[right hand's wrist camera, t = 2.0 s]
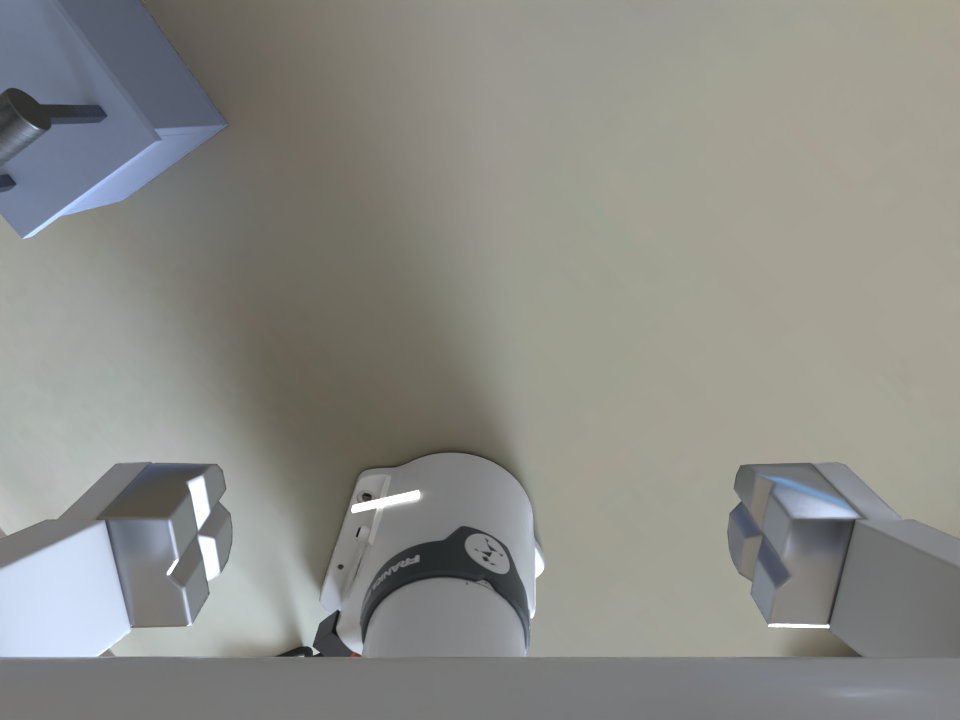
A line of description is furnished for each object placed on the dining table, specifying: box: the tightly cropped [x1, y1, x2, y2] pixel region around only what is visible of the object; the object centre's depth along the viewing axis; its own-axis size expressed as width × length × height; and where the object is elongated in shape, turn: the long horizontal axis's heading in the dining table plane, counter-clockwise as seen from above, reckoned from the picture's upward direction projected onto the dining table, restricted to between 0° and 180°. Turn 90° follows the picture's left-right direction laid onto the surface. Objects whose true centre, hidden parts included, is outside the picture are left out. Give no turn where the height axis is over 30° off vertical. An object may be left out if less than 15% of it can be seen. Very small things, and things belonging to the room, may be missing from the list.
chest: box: [58, 0, 228, 217], centre depth 40 cm, size 15×10×11 cm
